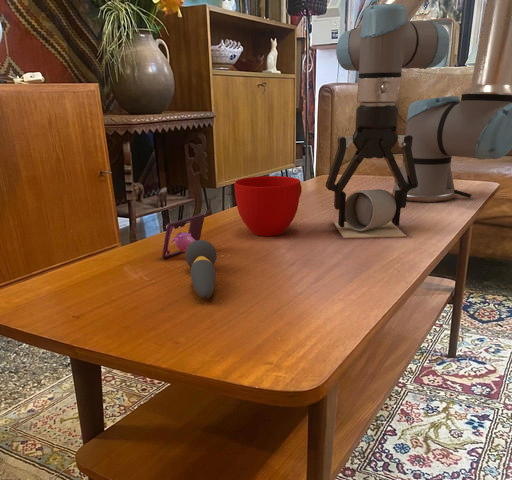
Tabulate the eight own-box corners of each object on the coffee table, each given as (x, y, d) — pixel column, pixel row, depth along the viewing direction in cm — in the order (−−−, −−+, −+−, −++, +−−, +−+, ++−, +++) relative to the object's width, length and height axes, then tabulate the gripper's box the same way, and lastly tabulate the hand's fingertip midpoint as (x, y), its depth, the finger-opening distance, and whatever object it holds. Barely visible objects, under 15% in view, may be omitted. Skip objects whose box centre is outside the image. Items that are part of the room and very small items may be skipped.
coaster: (390, 222, 111) (390, 220, 110) (405, 236, 100) (405, 235, 100) (334, 223, 110) (334, 222, 110) (343, 238, 100) (343, 236, 100)
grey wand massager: (233, 302, 72) (231, 267, 69) (197, 306, 71) (194, 271, 68) (213, 260, 89) (211, 232, 87) (184, 263, 88) (181, 234, 86)
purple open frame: (200, 211, 93) (164, 221, 87) (221, 224, 91) (186, 236, 85) (193, 244, 97) (158, 256, 91) (214, 257, 95) (179, 270, 89)
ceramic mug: (397, 227, 104) (401, 187, 101) (372, 234, 99) (375, 193, 96) (356, 219, 111) (358, 182, 108) (330, 225, 107) (332, 187, 103)
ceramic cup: (323, 226, 108) (325, 176, 104) (271, 244, 97) (271, 189, 93) (276, 217, 116) (276, 171, 112) (223, 233, 105) (220, 182, 101)
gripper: (317, 106, 91) (314, 230, 101) (446, 103, 92) (430, 228, 101) (312, 105, 98) (309, 221, 108) (432, 102, 98) (418, 219, 108)
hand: (368, 224), depth 105 cm, fingers closed on ceramic mug, 10 cm apart
